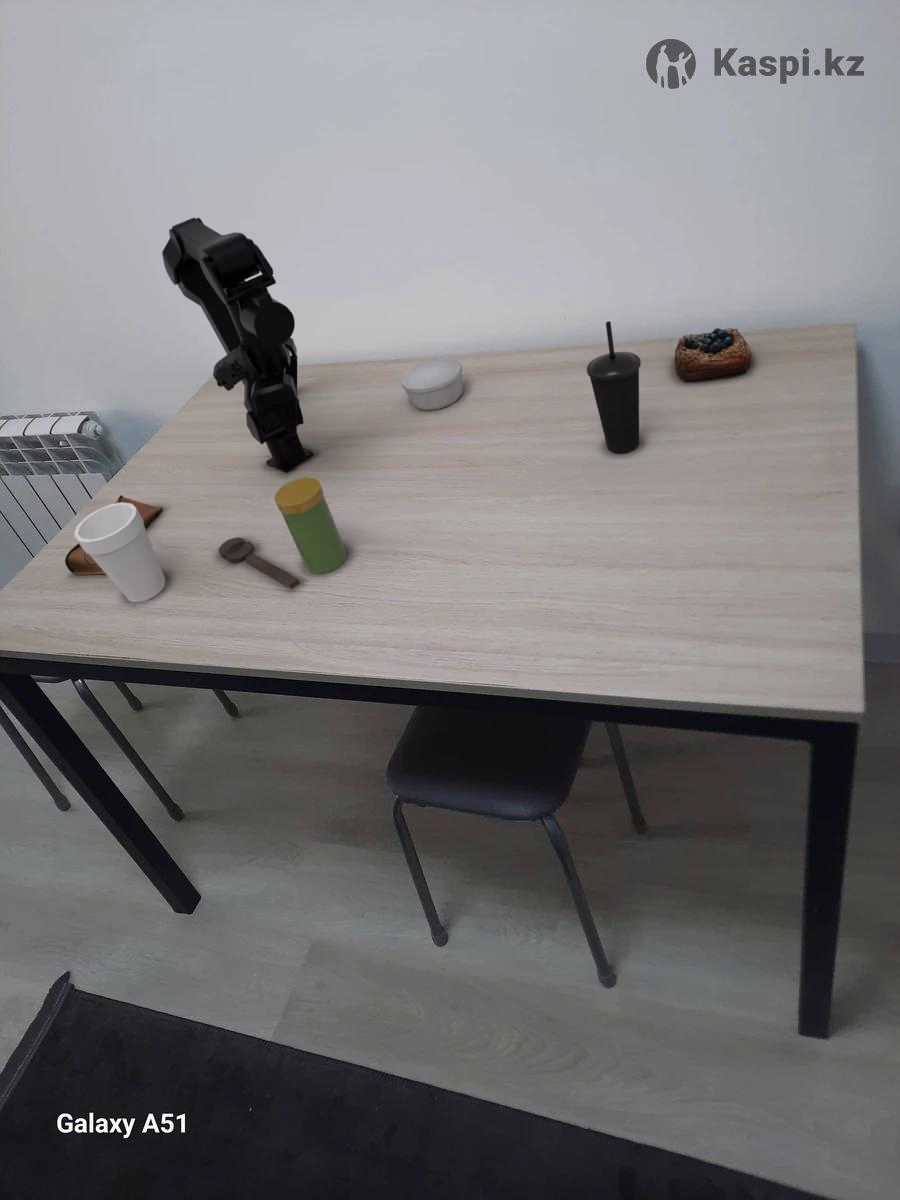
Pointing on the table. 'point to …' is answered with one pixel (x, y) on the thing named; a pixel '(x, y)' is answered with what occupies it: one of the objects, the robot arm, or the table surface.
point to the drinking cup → (617, 396)
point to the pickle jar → (311, 525)
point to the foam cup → (122, 550)
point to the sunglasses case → (84, 562)
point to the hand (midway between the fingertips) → (293, 420)
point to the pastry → (712, 356)
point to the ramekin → (433, 383)
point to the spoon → (254, 560)
